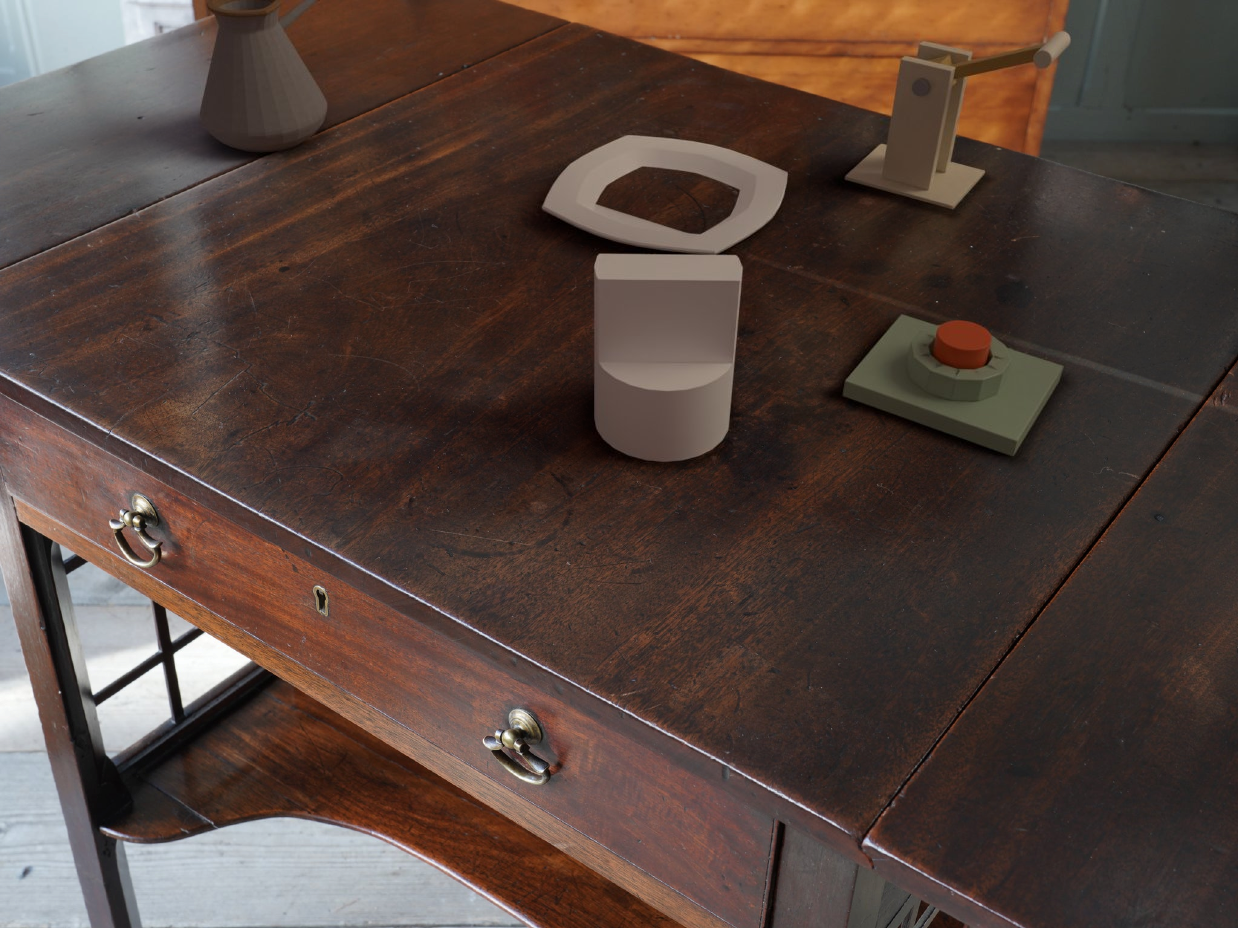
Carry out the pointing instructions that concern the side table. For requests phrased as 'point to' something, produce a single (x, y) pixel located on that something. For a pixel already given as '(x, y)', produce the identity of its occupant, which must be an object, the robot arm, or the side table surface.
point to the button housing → (954, 387)
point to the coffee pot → (259, 79)
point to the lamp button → (962, 345)
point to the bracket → (922, 133)
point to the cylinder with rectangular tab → (664, 351)
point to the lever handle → (1011, 58)
